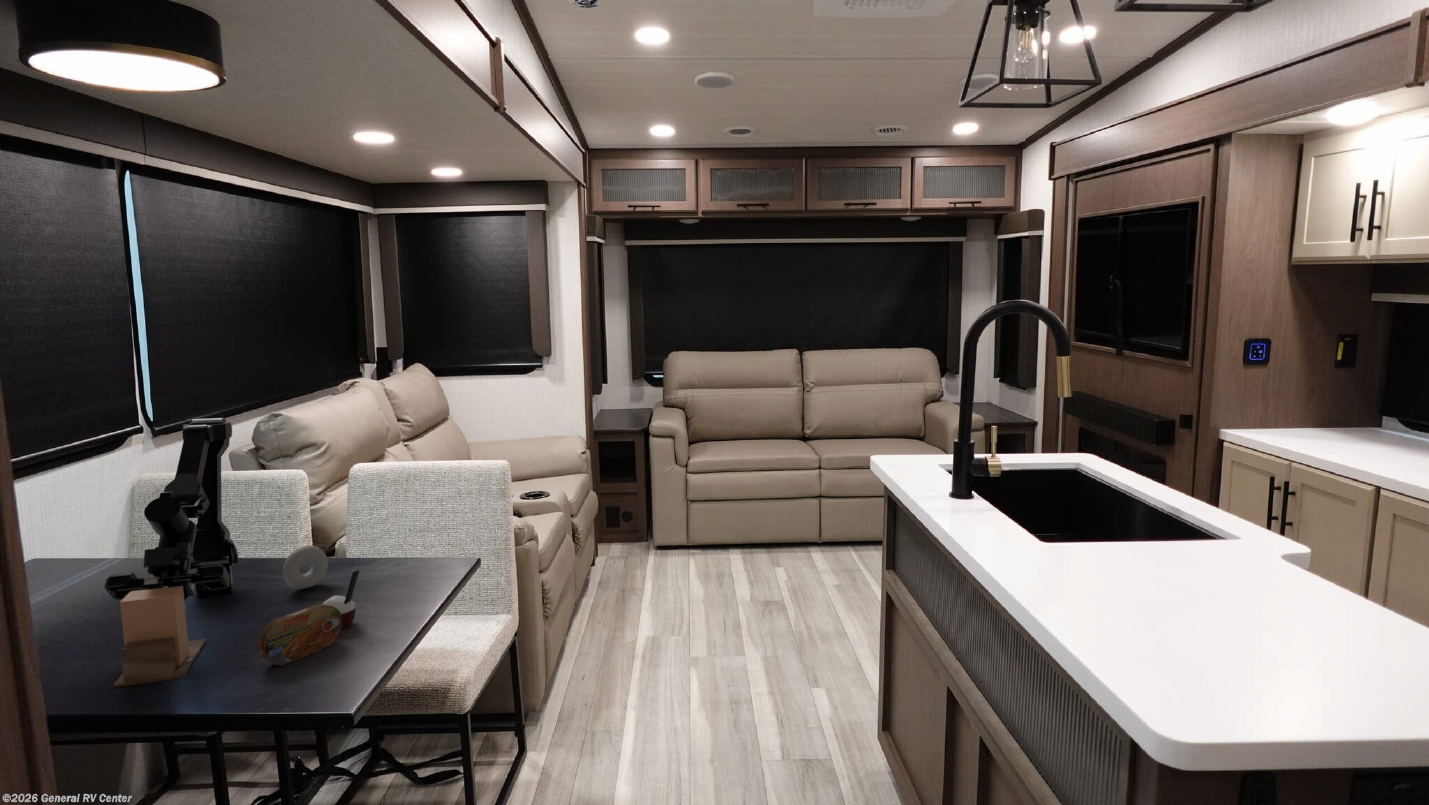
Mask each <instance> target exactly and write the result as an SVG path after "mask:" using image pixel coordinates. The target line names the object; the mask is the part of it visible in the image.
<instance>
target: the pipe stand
mask: <svg viewBox="0 0 1429 805" xmlns="http://www.w3.org/2000/svg"><path fill="white" fill-rule="evenodd" d="M205 642H207V639H206V638H203V639H194V640H188V645H189V654H188V656H187V657H186V659H185V660H184V662H183V663H182V665H180V666H177V658H176V647H175V637H167V638H159V639H151V640H143V641H134V642H127V643H126V644H125V645H123V647H122V648H120V654H121V655H120V657H121V664H122V674H121V675H120V676H119V677H118V678H117V680H116V681H115V682H114V683H113V688H120V687H121V688H122V687H128V686H134V685H143V684H150V683H155V682H164V681H171V680H179V679H180V680H181V679H183V678H184V676H185V675H186V673H187V672H188V671H187V670H189V669H190V668H191V666H190V665H193V663H194V661H195V660H196V658H197V657H198V655H199V654H200V652H201V651H200V649H201V648H202V647H203V648H204V646H205V645H204V643H205ZM205 644H206V643H205ZM203 645H204V646H203ZM203 648H202V649H203ZM202 649H201V650H202ZM198 653H199V654H198ZM197 654H198V655H197ZM196 656H197V657H196ZM194 659H195V660H194ZM192 662H193V663H192ZM188 668H189V669H188Z"/></svg>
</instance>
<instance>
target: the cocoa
mask: <svg viewBox="0 0 1429 805" xmlns="http://www.w3.org/2000/svg"><path fill="white" fill-rule="evenodd" d="M359 572H360V571H359V569H358V570H355V571H353V572H352V574H351V578H350V581H349V585H348V587H347V591H346V594H345V596H344V595H333V596H332V597H329V598H328V599H326V600H325V601H323V603H322V604H321V605H329V606H333V607H335V608H337V609H338V610H339V611H340V613H341V615H342V618H343V626H342V628H343V629H345V628H344V627H346V628H347V627H349V626H350V625H352V623H353V621H354V620H355V617H356V607H357V604H356V602H355V601H353V600H352V598H353V595H354V594H353V593H354V591H355V587H356V584H357V580H358V576H359Z"/></svg>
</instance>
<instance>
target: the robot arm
mask: <svg viewBox="0 0 1429 805" xmlns="http://www.w3.org/2000/svg"><path fill="white" fill-rule="evenodd" d="M181 427H182V446H181V451H180V454H179V459H178V464H177V468H176V472H175V477H174V478H173V480H171V481H169V483H168V484H166V486H164V490H163V492H160V493H159V497H157V498H155V499H152V500H151V501H150V502H149V503H147V505H146V507H145V508H144V510H143V511H144V513H143V514H144V517H145V519H146V520H147V522H148V523H149V524H150V526H151V528H152V529H153V531H154V532H155V534H156V535H159V540H158V544H157V546H155V548H148V549H145V550H144V554H143V555H144V556H143V568H147V573H148V574H149V575H151V576H143V577H141V578H138V577H137V576H136V574H135V573H134V572H133V571H132V572H125V573H124V572H123V573H113V574H111V575H109V576H108V577H107V578H106V579H105V583H104V586H103V588H104V589H105V591H106V592H108V594H109V595H110V596H111V598H112V599H114V600H116V601H121V600H122V599H123V598H124V597H125V596H126V595H127V594H128V593H130V592H131V591H139V590H149V589H159V588H169V587H178V586H183V592H184V602H186V600H187V599H188V598H189V597H193V596H195V593H197V597H198V598H202V597H210V596H215V595H217V596H218V595H222V594H223V595H224V594H229V593H232V592H233V590H234V581H233V573H232V566H234V564H238V563H239V562H240V560H239V554H238V548H237V547H236V545H235V543H234V541H233V539H232V538H231V532H230V529H228V527H227V526H226V525H225V523H224V522H223V521H222V520H223V518H222V516H223V515H222V456H223V455H224V454H225V452H226V451H227V449H228V448H229V447H230V438H232V436H233V425H232V423H231V422H230V421H229V422H227V421H226V418H225V417H214V418H193V419H192V420H191V422H190V423H188V424H182V426H181ZM191 519H197V523H196V524H195V522H194V521H192V520H191ZM192 570H196V571H195V573H190V571H192ZM194 588H195V591H194Z"/></svg>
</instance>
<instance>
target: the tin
mask: <svg viewBox="0 0 1429 805" xmlns="http://www.w3.org/2000/svg"><path fill="white" fill-rule="evenodd" d="M342 626H343V618H342V615H341V613H340V611H339V610H338V609H337V608H335V607H333V606H329V605H322V604H314V605H312V606H309V607H306V608H303V609H300V610H297V611H295V612H292V613H289V614H287V615H284V616H280V617H279V618H276V619H274V620H272V621H271V622H269V623H268V624H267V625H266V626H265V627H264V628H263V630H262V631H261V633H260V635H259V637H258V651H259V654H260V657H262V659H264V660H265V661H267V662H269V663H271V664H273V665H275V666H286V665H285V664H287V663H289V664H291V663H290V662H291V661H294V662H296V661H295V660H297V659H299V658H301V659H303V657H304V656H306V657H308V656H307V655H309V654H311V655H313V654H315V653H314V652H316V653H317V651H318V652H320V651H319V650H320V649H323V650H325V649H327V648H326V647H328V648H329V647H331V646H333V644H334V643H335V642H336V641H337V640H338V639H339V636H340V635H341V633H342V630H343V629H342ZM324 648H325V649H324ZM312 653H313V654H312ZM309 656H310V655H309ZM304 658H305V657H304ZM299 660H300V659H299ZM297 661H298V660H297ZM287 665H288V664H287Z"/></svg>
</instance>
